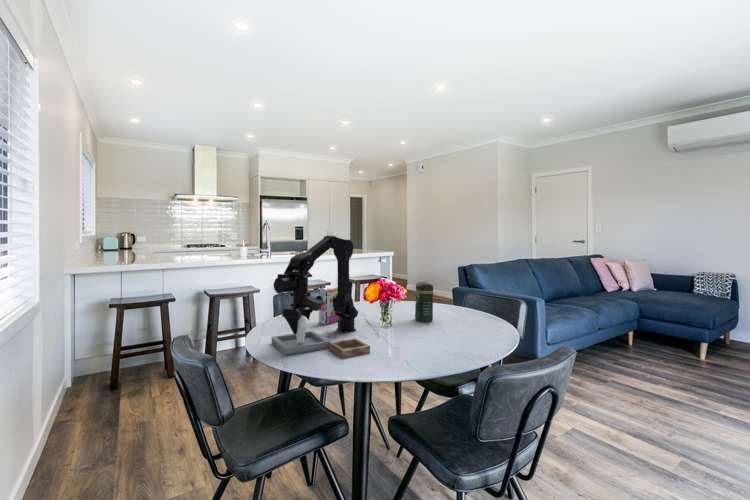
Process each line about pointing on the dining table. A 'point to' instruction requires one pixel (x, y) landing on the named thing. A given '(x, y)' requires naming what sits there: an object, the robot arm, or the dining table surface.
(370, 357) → the dining table surface
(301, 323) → the lightbulb
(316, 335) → the tray
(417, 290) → the coffee jar
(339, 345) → the tray
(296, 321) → the robot arm
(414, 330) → the dining table surface
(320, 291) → the candy bar box
